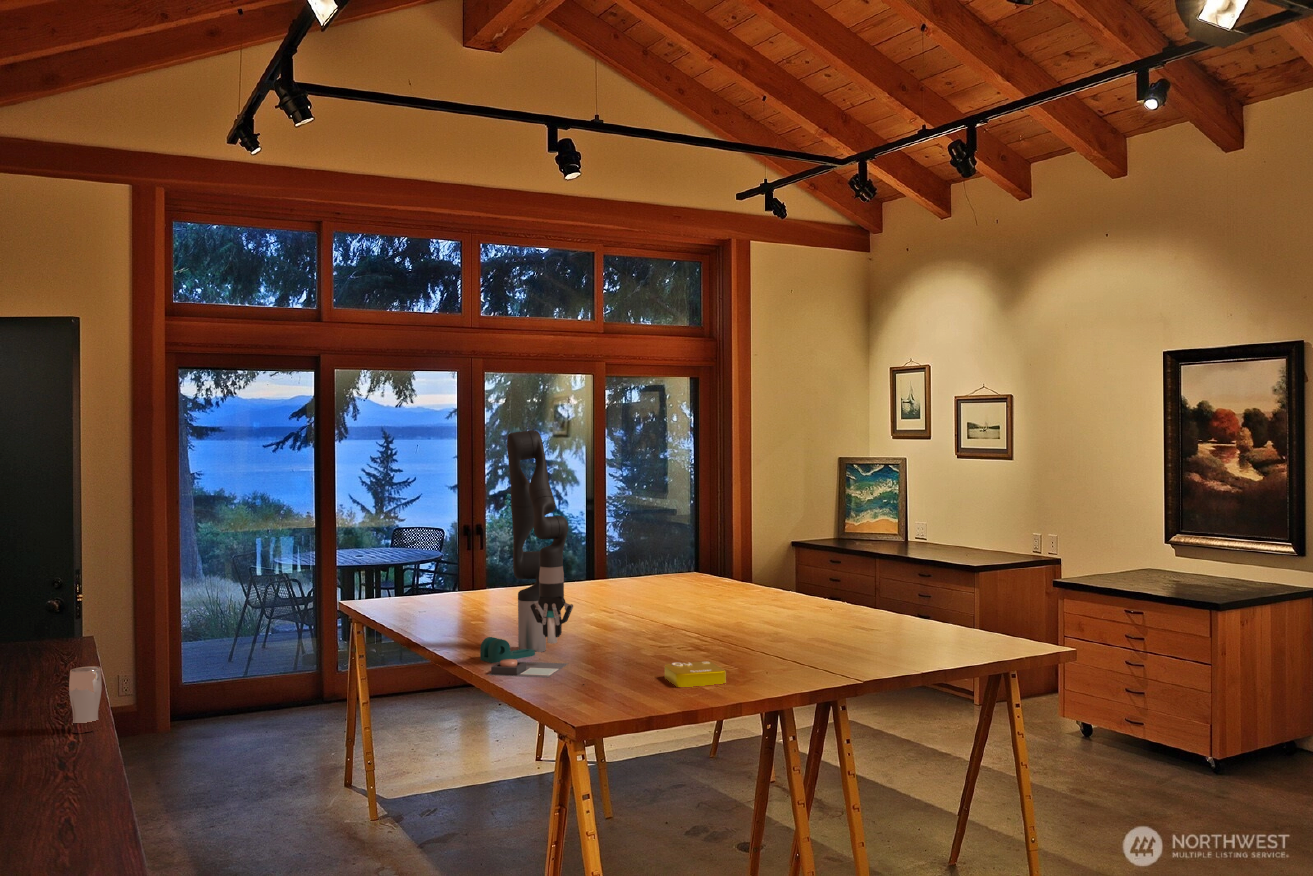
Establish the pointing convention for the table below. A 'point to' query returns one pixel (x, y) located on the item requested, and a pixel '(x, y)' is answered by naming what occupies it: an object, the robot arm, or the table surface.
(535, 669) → the drawing board
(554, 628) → the marker
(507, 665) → the button
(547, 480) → the robot arm
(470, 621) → the table surface
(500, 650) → the bracket
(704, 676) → the element tile
